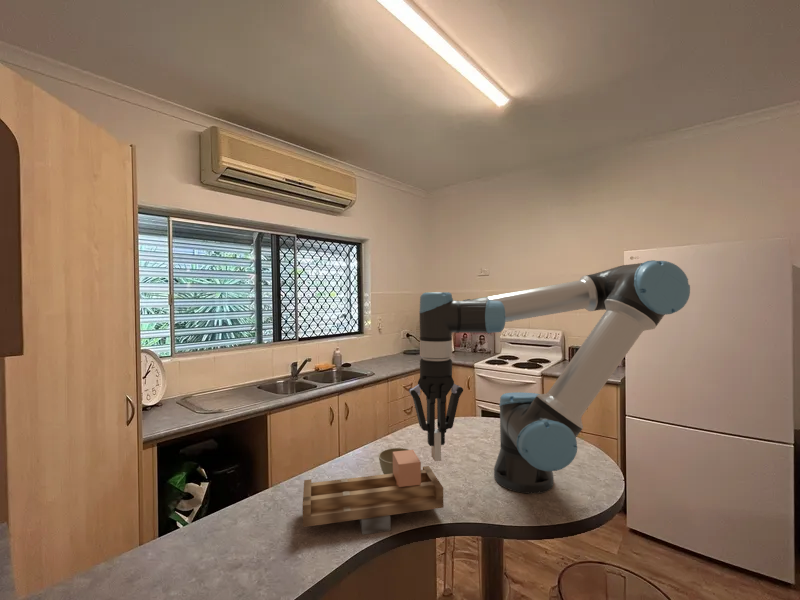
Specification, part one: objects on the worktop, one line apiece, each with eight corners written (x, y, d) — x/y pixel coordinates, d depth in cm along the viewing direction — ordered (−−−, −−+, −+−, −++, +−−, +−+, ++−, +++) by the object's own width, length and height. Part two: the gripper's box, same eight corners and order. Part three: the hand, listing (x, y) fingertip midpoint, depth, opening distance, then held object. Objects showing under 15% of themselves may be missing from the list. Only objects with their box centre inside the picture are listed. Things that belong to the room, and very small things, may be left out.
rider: (413, 480, 91) (412, 449, 91) (421, 495, 85) (420, 462, 84) (393, 482, 90) (392, 451, 90) (399, 497, 83) (398, 464, 83)
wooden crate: (428, 494, 95) (428, 464, 95) (444, 522, 83) (444, 488, 83) (304, 510, 88) (304, 478, 88) (303, 543, 77) (302, 506, 77)
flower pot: (413, 492, 96) (412, 464, 96) (374, 489, 98) (374, 461, 98) (419, 474, 106) (418, 448, 106) (384, 471, 108) (383, 446, 108)
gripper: (456, 354, 94) (456, 449, 94) (405, 356, 91) (405, 454, 91) (468, 359, 86) (468, 462, 87) (412, 361, 84) (413, 468, 84)
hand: (436, 458), depth 89 cm, fingers closed
